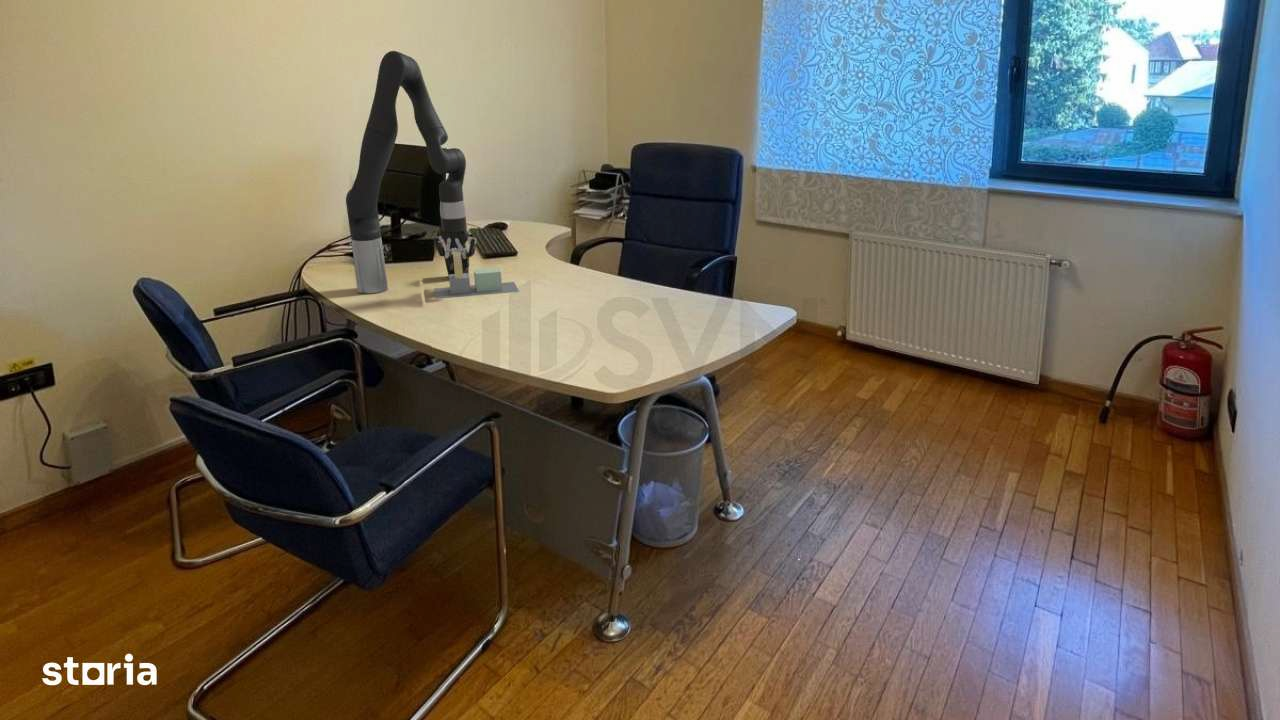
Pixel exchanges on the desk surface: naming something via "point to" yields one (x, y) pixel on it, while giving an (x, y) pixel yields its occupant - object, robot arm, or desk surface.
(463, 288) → the base board
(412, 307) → the desk surface
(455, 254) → the t key
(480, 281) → the mint green block
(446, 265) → the coffee mug
